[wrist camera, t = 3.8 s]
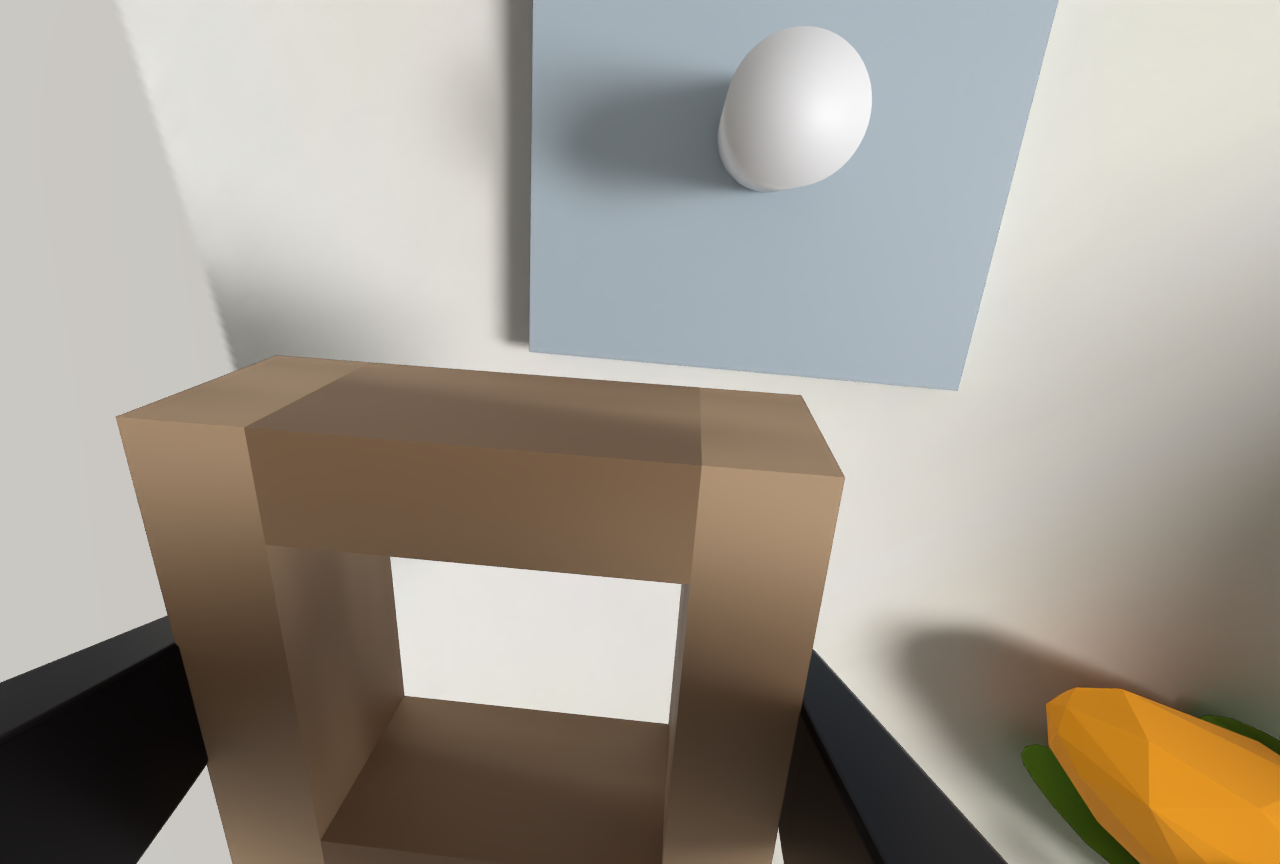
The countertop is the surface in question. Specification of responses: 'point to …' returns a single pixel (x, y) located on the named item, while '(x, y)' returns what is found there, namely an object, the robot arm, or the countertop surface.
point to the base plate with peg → (775, 179)
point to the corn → (1159, 780)
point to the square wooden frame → (493, 536)
